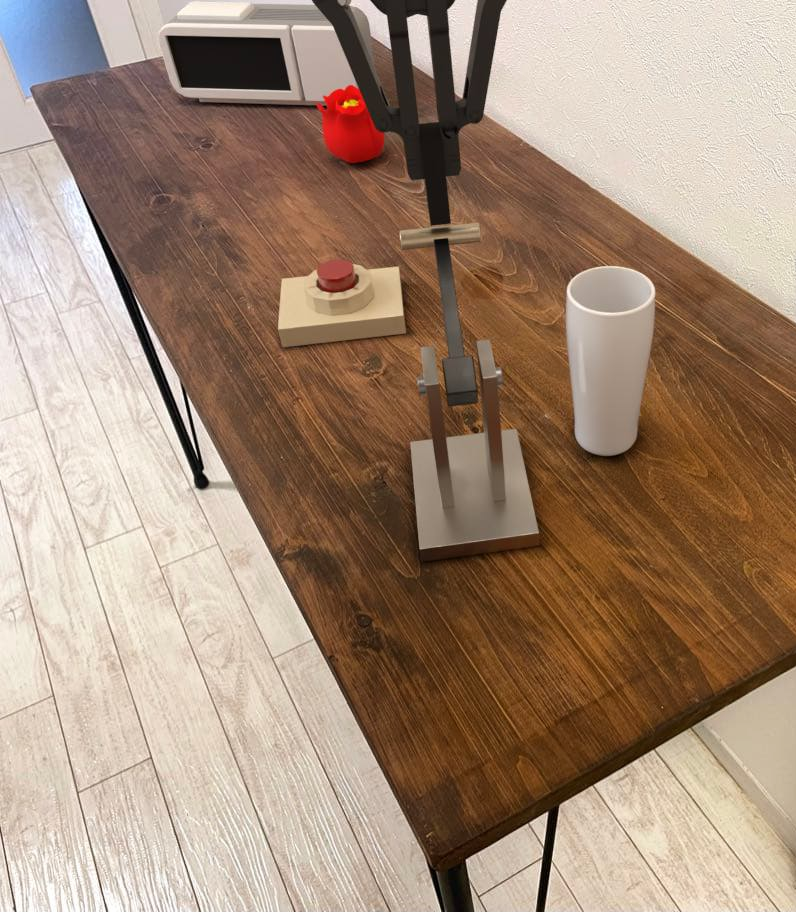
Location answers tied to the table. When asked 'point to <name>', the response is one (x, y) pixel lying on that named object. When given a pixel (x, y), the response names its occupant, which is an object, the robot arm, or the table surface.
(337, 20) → the robot arm
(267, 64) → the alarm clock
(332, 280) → the button
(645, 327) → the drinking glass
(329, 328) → the button block
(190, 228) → the table surface
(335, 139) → the flower
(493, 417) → the bracket
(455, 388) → the lever
